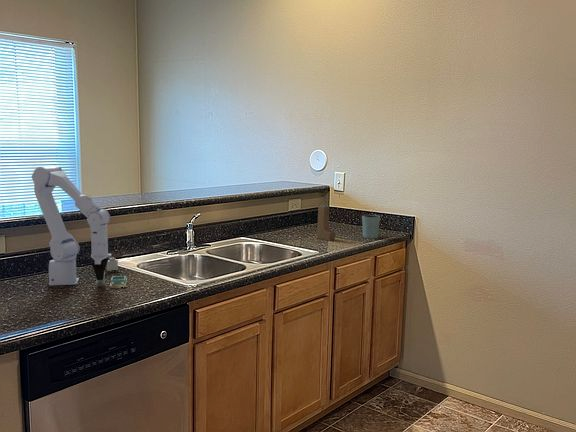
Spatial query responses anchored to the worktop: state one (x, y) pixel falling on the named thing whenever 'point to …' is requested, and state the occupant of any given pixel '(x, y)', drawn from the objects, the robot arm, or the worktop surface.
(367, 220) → the drinking glass
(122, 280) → the pin board
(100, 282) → the pin
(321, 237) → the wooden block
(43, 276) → the worktop surface
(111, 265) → the grey lever block
